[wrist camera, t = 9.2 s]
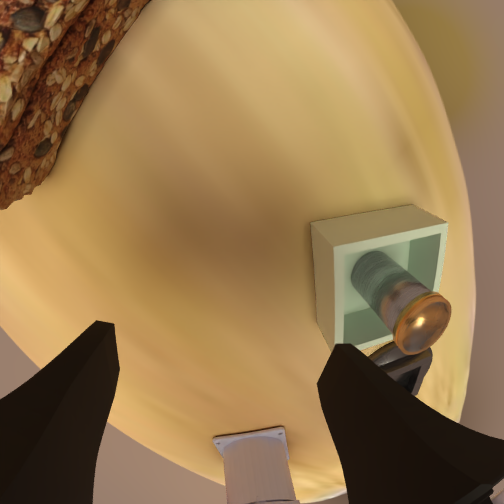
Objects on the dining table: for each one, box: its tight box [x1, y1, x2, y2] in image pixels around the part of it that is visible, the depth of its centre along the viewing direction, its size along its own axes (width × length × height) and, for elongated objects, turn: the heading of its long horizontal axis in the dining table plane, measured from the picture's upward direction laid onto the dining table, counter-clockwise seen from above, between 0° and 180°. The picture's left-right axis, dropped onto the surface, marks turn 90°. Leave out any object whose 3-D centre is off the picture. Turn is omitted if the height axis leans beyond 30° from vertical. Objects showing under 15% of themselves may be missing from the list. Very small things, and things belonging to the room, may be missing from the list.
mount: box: [368, 341, 433, 396], centre depth 25 cm, size 10×10×2 cm
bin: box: [310, 205, 448, 353], centre depth 18 cm, size 8×8×4 cm
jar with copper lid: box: [351, 251, 451, 355], centre depth 17 cm, size 4×4×7 cm
